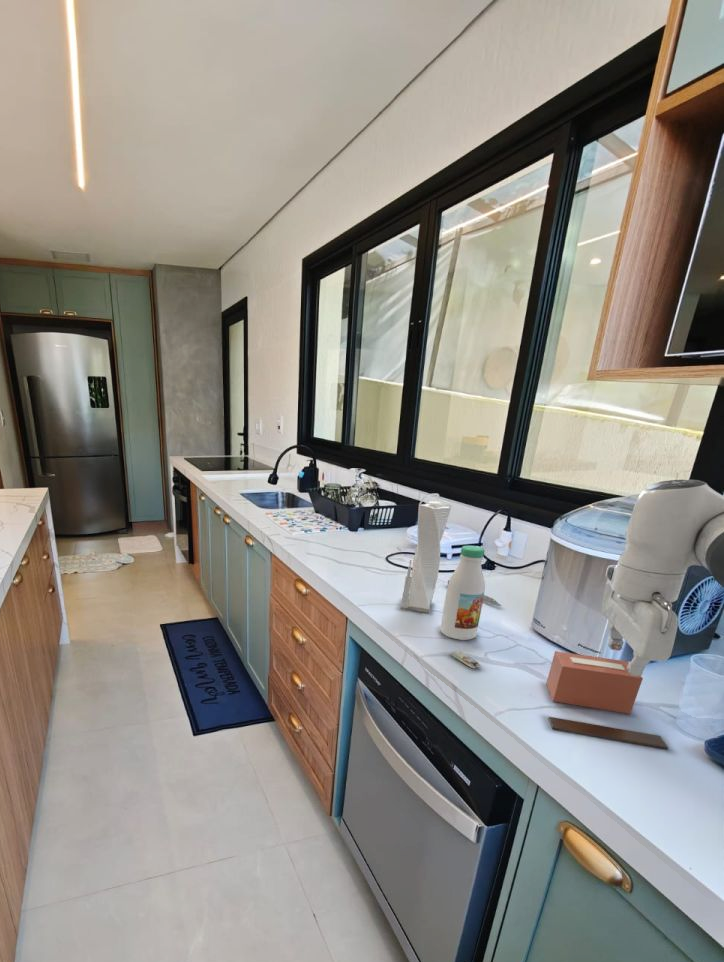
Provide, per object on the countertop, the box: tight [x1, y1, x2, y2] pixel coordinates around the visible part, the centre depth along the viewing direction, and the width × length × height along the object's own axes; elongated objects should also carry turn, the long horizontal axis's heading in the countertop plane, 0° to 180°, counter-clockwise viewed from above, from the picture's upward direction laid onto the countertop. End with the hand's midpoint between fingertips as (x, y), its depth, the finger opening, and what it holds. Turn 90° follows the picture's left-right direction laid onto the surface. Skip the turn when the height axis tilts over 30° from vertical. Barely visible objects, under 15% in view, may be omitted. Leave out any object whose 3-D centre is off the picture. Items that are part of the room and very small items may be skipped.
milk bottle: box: [440, 545, 486, 641], centre depth 110 cm, size 8×8×20 cm
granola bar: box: [449, 650, 482, 669], centre depth 101 cm, size 7×2×1 cm, turn 25°
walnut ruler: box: [548, 716, 669, 750], centre depth 80 cm, size 16×3×1 cm, turn 74°
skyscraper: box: [400, 493, 452, 614], centre depth 123 cm, size 8×8×28 cm
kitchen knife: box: [447, 579, 503, 607], centre depth 135 cm, size 18×1×2 cm, turn 27°
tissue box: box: [545, 650, 643, 715], centre depth 88 cm, size 6×12×7 cm, turn 74°
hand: (623, 660), depth 85 cm, fingers open, 8 cm apart
